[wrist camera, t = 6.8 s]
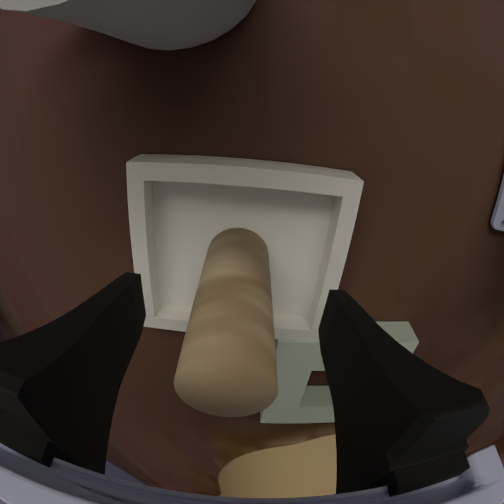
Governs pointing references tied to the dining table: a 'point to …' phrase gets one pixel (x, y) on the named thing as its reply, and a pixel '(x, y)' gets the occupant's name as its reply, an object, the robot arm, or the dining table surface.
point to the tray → (240, 216)
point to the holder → (298, 372)
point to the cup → (144, 18)
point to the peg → (230, 331)
